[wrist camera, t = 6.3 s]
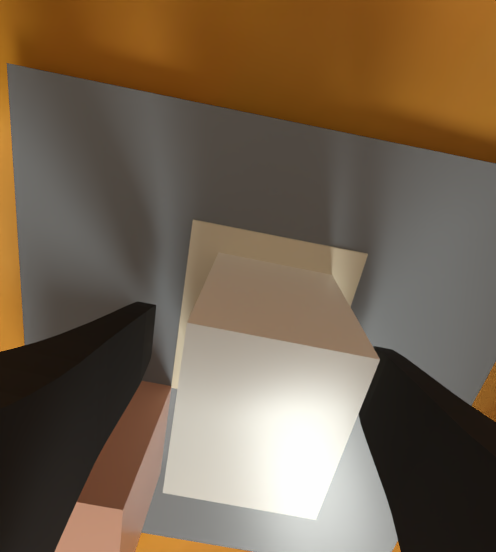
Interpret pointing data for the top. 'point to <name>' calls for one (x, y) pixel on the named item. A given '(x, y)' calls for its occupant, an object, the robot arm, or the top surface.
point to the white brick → (266, 388)
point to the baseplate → (250, 256)
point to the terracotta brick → (122, 478)
